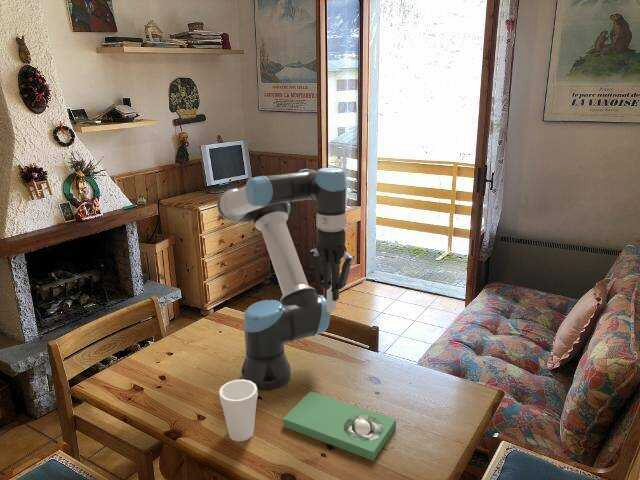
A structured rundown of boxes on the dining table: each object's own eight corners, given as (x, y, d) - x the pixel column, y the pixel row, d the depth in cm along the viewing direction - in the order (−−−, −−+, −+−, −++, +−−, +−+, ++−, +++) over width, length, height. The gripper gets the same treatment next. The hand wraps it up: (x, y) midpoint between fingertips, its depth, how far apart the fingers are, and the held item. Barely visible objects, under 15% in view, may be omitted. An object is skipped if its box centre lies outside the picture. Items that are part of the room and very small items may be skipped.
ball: (351, 421, 133) (365, 416, 132) (356, 423, 136) (370, 419, 136) (354, 436, 131) (369, 432, 130) (359, 439, 134) (374, 435, 133)
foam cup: (243, 450, 129) (240, 405, 125) (215, 437, 134) (211, 393, 130) (266, 429, 136) (264, 386, 132) (239, 417, 141) (236, 375, 137)
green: (283, 426, 137) (282, 418, 137) (310, 398, 149) (310, 391, 148) (373, 460, 125) (373, 452, 124) (395, 427, 136) (396, 419, 135)
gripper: (302, 228, 136) (304, 310, 143) (346, 235, 130) (346, 320, 137) (316, 221, 142) (318, 300, 150) (359, 227, 136) (359, 310, 143)
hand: (331, 310), depth 143 cm, fingers closed
